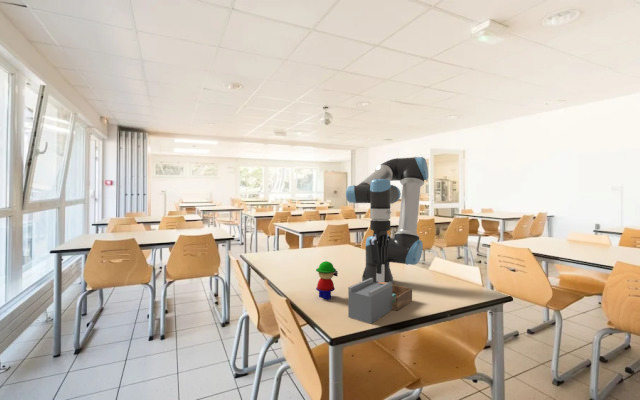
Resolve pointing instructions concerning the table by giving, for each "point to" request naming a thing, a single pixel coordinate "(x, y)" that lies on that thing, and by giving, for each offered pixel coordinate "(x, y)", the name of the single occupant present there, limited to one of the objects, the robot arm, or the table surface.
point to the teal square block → (393, 298)
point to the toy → (326, 279)
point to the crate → (401, 297)
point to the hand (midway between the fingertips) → (380, 281)
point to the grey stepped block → (369, 300)
